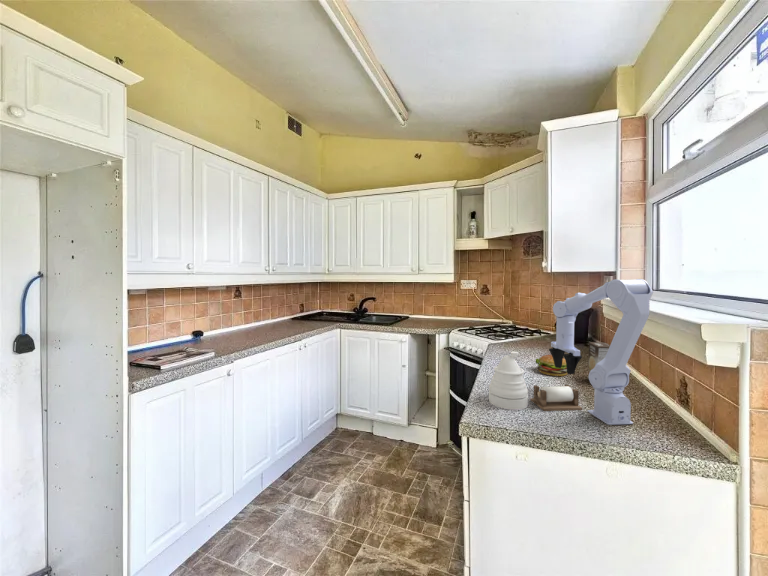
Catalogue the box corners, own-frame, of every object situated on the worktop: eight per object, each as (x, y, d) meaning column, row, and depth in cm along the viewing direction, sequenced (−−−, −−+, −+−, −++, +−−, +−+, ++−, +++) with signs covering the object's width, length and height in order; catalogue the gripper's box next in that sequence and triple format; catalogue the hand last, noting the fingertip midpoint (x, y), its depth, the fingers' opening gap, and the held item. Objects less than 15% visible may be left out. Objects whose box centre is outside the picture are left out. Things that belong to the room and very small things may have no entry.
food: (578, 374, 145) (578, 357, 145) (556, 379, 139) (556, 360, 139) (550, 366, 158) (551, 350, 157) (529, 370, 152) (530, 353, 151)
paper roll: (575, 404, 111) (579, 394, 109) (540, 405, 111) (544, 395, 108) (567, 392, 116) (571, 382, 113) (533, 393, 115) (537, 383, 112)
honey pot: (527, 398, 119) (528, 349, 118) (528, 412, 107) (529, 358, 106) (490, 393, 124) (490, 346, 123) (487, 406, 112) (488, 354, 111)
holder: (582, 410, 108) (582, 392, 108) (544, 411, 108) (544, 393, 107) (565, 399, 117) (566, 382, 117) (530, 400, 117) (530, 383, 116)
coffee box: (587, 378, 139) (588, 341, 138) (603, 379, 138) (604, 342, 137) (596, 386, 130) (597, 346, 129) (614, 387, 129) (615, 347, 128)
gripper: (543, 330, 127) (543, 365, 127) (566, 338, 112) (565, 377, 113) (561, 330, 127) (560, 364, 128) (586, 337, 113) (585, 376, 113)
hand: (564, 370), depth 120 cm, fingers open, 7 cm apart
